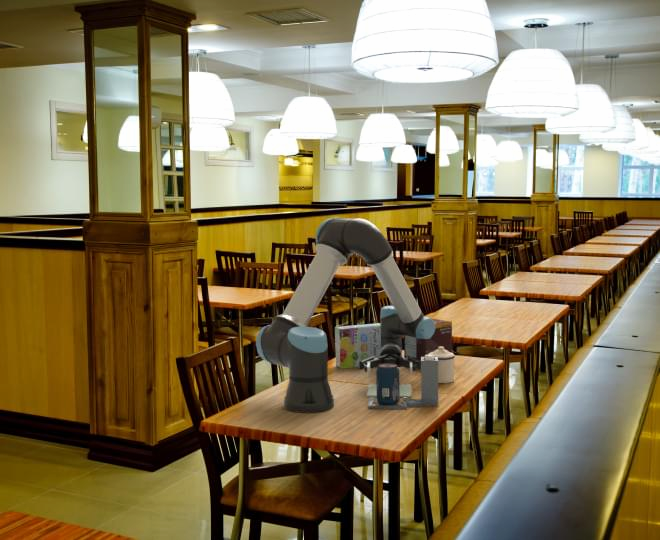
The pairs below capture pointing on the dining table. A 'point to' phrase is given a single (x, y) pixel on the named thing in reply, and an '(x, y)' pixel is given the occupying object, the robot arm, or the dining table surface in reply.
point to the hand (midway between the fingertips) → (389, 371)
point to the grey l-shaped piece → (427, 388)
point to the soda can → (387, 384)
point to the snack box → (357, 344)
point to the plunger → (429, 357)
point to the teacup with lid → (444, 365)
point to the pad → (403, 390)
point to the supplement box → (430, 341)
